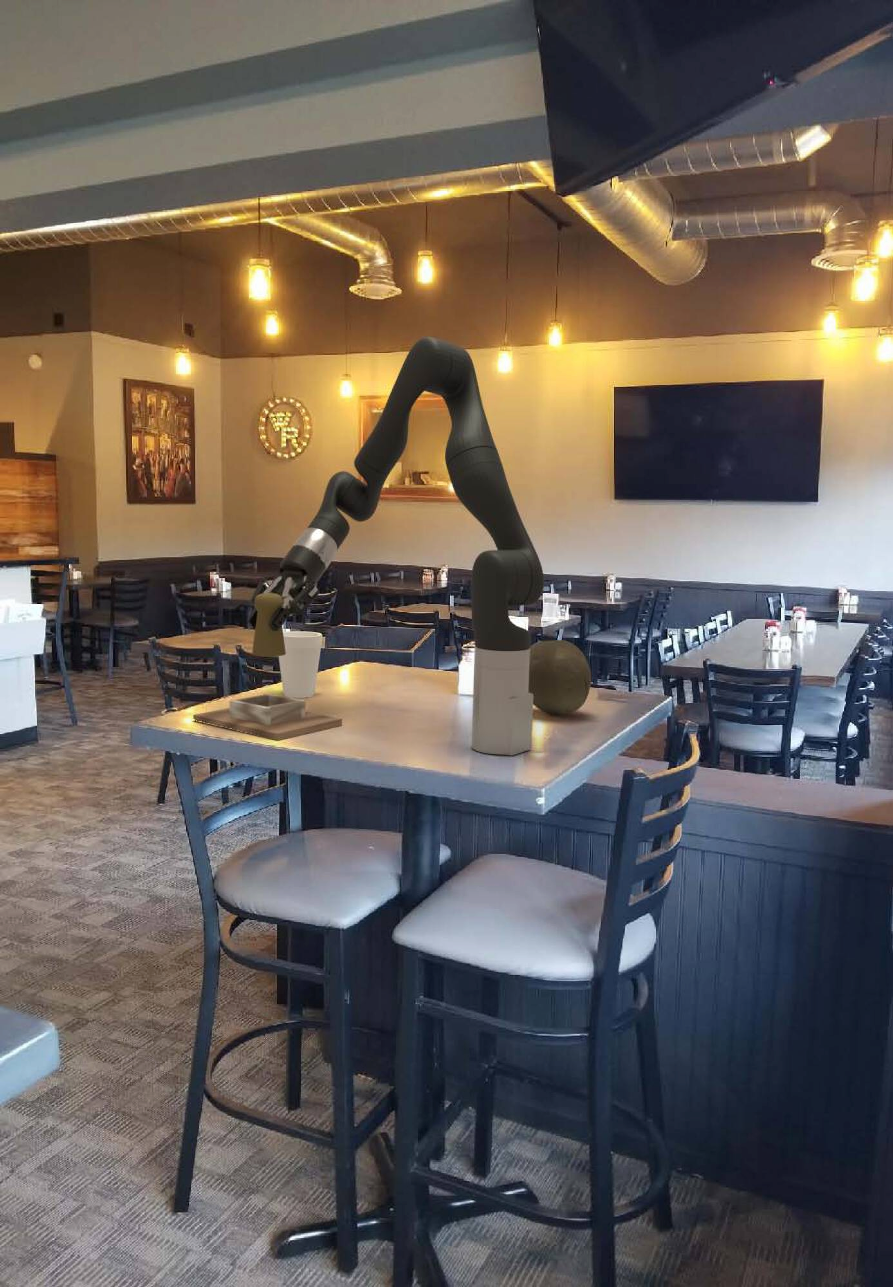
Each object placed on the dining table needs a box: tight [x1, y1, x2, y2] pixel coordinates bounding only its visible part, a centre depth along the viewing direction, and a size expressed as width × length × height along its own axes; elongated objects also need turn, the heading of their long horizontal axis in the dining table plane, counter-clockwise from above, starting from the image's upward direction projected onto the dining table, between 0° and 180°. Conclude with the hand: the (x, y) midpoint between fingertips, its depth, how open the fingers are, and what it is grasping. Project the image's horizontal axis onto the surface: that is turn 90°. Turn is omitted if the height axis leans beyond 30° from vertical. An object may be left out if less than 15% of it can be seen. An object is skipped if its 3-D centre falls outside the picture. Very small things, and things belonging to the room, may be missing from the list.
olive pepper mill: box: [251, 593, 286, 658], centre depth 174 cm, size 6×6×11 cm
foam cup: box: [278, 630, 323, 699], centre depth 202 cm, size 10×9×13 cm
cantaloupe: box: [528, 639, 592, 717], centre depth 189 cm, size 14×14×15 cm
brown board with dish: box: [192, 693, 343, 741], centre depth 176 cm, size 22×16×4 cm
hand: (261, 626), depth 172 cm, fingers closed on olive pepper mill, 5 cm apart
